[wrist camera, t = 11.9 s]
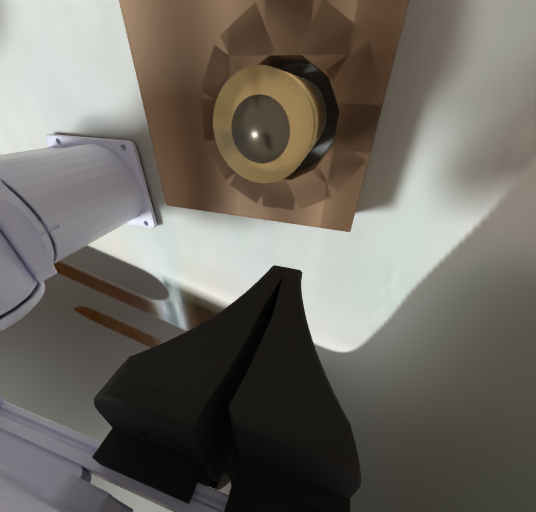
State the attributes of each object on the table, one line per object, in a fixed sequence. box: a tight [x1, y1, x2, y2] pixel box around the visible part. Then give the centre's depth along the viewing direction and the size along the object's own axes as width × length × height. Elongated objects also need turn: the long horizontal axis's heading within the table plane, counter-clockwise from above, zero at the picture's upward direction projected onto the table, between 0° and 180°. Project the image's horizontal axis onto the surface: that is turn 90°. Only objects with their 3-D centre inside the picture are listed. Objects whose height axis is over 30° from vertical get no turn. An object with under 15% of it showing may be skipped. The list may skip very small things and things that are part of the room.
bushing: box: [213, 65, 327, 183], centre depth 13 cm, size 4×4×7 cm
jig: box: [119, 0, 409, 232], centre depth 15 cm, size 14×12×3 cm
